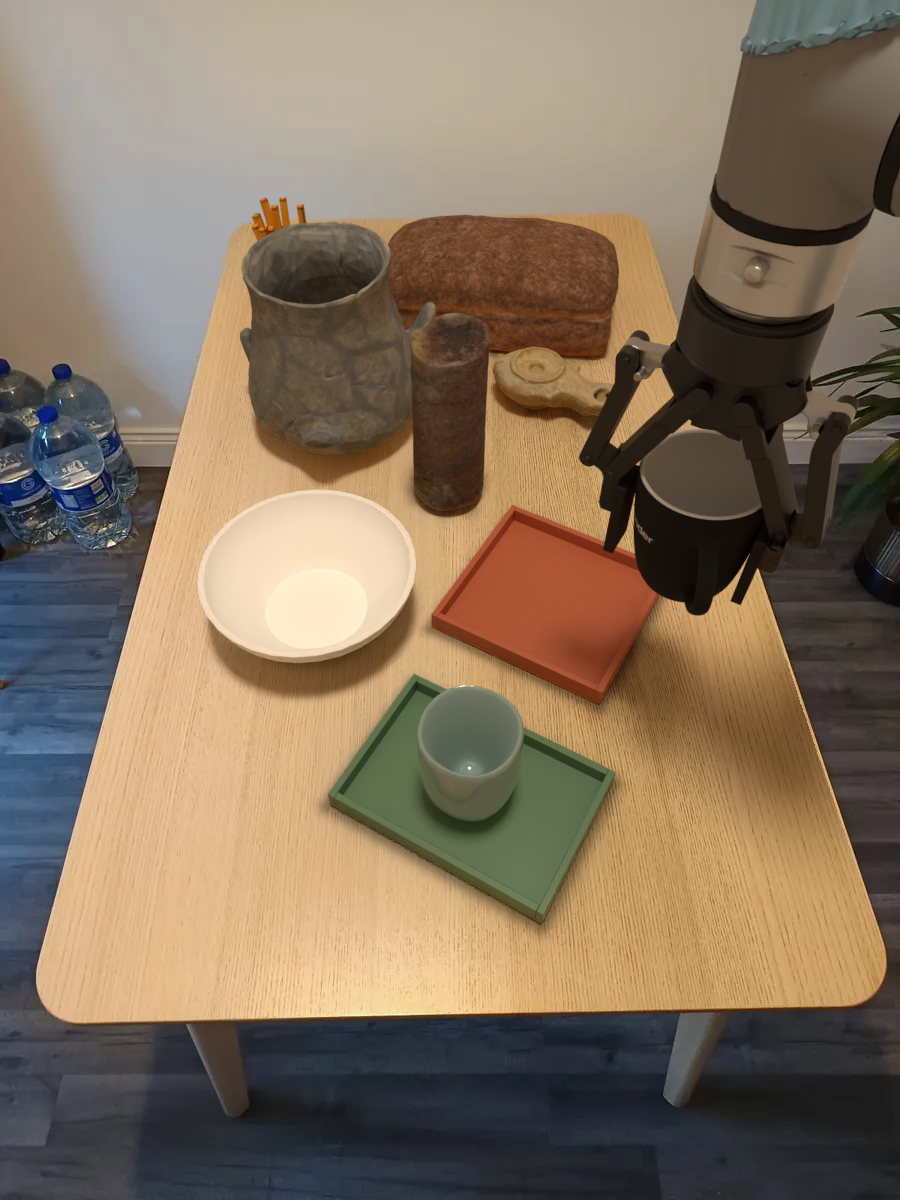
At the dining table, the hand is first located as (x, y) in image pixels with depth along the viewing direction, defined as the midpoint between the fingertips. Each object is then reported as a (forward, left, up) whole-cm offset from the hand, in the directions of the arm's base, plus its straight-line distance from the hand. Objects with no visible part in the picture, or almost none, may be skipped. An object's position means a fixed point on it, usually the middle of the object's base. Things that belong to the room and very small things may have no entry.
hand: (676, 564), depth 63 cm
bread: (+38, -44, -18) cm, 61 cm away
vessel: (+44, -17, -18) cm, 50 cm away
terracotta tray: (+11, -5, -18) cm, 21 cm away
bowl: (+30, +7, -18) cm, 36 cm away
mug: (-1, 0, -2) cm, 2 cm away
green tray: (+8, +16, -18) cm, 25 cm away
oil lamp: (+24, -32, -18) cm, 44 cm away
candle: (+27, -13, -18) cm, 35 cm away
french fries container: (+60, -31, -18) cm, 70 cm away
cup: (+8, +16, -17) cm, 25 cm away
